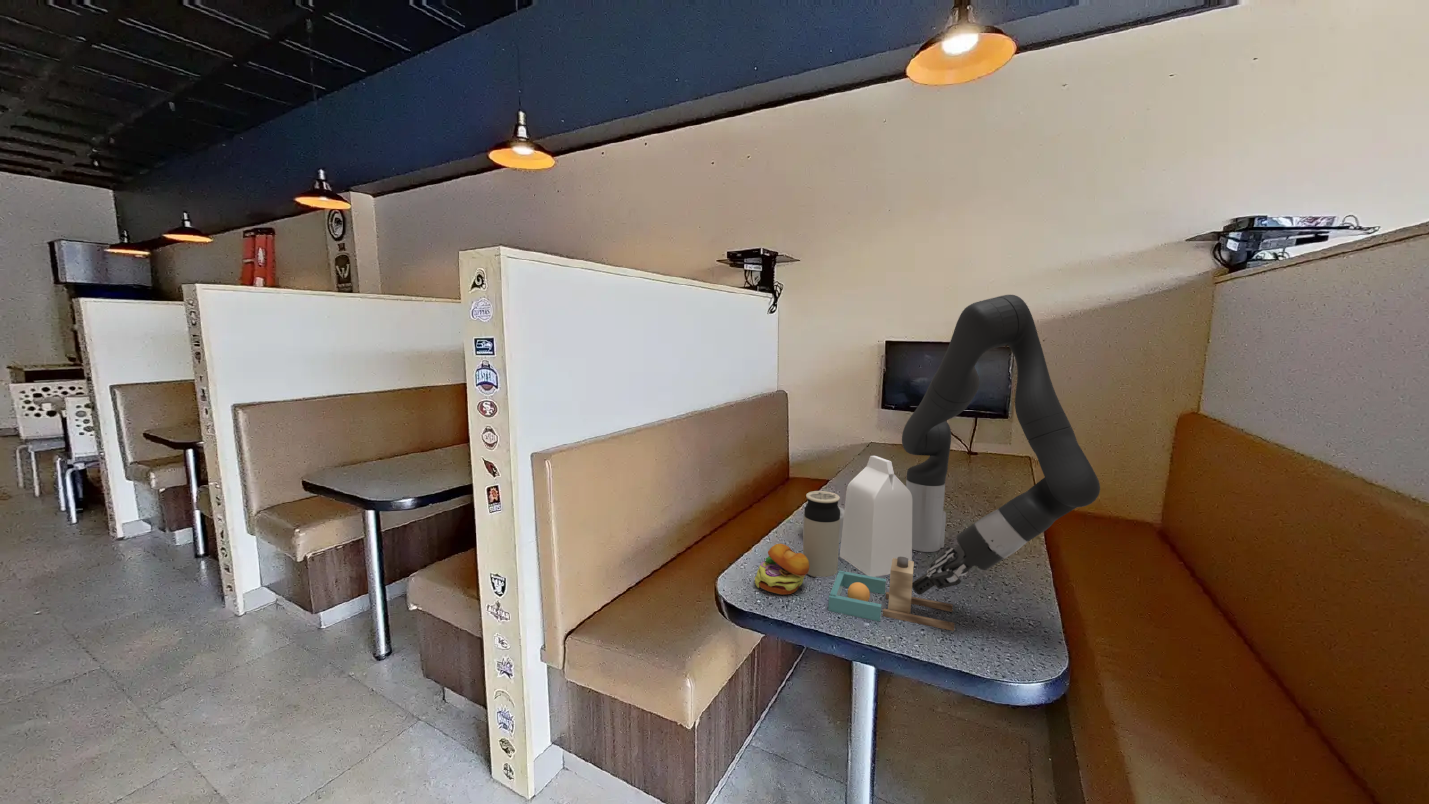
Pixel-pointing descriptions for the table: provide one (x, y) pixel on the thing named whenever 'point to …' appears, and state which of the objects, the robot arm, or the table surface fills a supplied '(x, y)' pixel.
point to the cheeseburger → (782, 570)
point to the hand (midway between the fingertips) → (915, 589)
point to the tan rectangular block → (901, 585)
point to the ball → (858, 591)
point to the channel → (922, 619)
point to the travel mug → (821, 533)
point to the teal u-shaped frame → (854, 605)
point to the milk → (876, 519)
